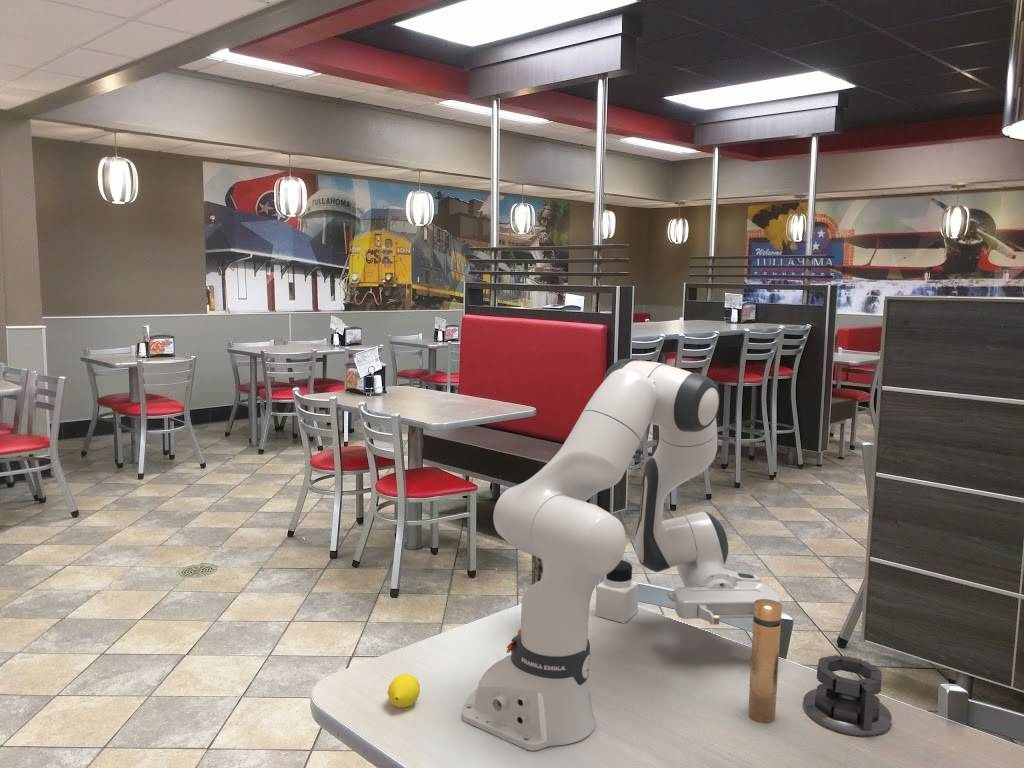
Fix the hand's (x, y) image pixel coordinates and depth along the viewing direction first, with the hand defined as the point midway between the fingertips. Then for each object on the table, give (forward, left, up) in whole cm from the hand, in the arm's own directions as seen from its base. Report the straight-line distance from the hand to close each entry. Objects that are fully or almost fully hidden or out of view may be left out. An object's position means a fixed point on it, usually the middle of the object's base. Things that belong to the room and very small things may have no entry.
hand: (740, 620), depth 144 cm
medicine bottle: (-29, +18, -12) cm, 37 cm away
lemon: (-50, -35, -12) cm, 63 cm away
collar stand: (+19, -2, -12) cm, 22 cm away
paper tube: (-39, +2, -12) cm, 41 cm away
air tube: (+6, -10, -12) cm, 17 cm away
